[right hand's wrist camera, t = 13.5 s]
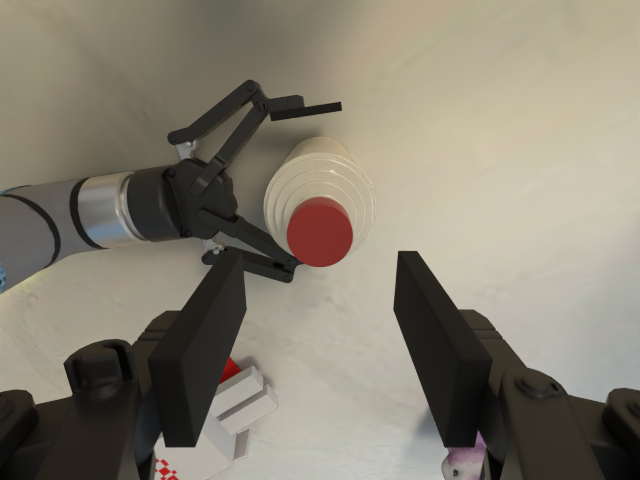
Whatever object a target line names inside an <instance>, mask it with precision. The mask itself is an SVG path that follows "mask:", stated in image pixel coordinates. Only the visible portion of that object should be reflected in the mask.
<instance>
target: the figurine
mask: <svg viewBox="0 0 640 480" xmlns="http://www.w3.org/2000/svg"><path fill="white" fill-rule="evenodd" d="M447 449H448V451H449V454H448V456H447V457H446V458H445V459H444V461H443V463H442V466H441V468H442V473H443V475H444V478H445V480H479V478H480V472H481V468H482V463H483V459H484V454H485V450H486V444H485V442H484V440H483V438H482V436H481V434H480V432H479V430H478V434H477V439H476V443H475V448H447ZM485 480H486V477H485Z"/></svg>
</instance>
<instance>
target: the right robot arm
mask: <svg viewBox="0 0 640 480" xmlns="http://www.w3.org/2000/svg"><path fill="white" fill-rule="evenodd" d="M246 310H247V308H246V296H245V284H244V272H243V260H242V251H223V252H222V253H221V255H220V256H219V257H218V259H217V260H216V262H215V263H214V264H213V266H212V267H211V269H210V270H209V272H208V273H207V274H206V276H205V277H204V279H203V280H202V282H201V283H200V284H199V286H198V287H197V289H196V290H195V292H194V293H193V294H192V296H191V297H190V299H189V300H188V302H187V303H186V304H185V306H184V307H183V309H182V310H181V311H165V312H164V313H162V314H161V315H159V316H158V317H156V318H155V319H153V320H152V322H151V323H150V324H149V325H148V326H147V328H146V329H145V332H143V333H142V334H141V335H140V336H139V338H138V341H135V343H134V344H133V345H132V346H131V345H130V344H129V343H128V342H127V341H125V340H120V339H109V340H103V341H99V342H95V343H92V344H90V345H87V346H85V347H83V348H81V349H79V350H78V351H76V352H75V353H73V354H72V355H70V356H69V357H68V359H67V360H66V361H65V362H64V363H63V364H64V368H65V371H66V374H67V377H68V380H69V384H70V387H71V390H72V393H73V394H72V396H71V397H67V398H63V399H59V400H54V401H50V402H45V403H41V404H36V405H35V403H34V400H33V397H32V395H31V394H30V393H29V392H27V391H26V390H10V391H4V392H0V480H154V478H155V469H156V455H155V450H154V446H155V444H156V442H157V440H158V438H159V436H160V434H161V432H162V434H163V439H164V443H165V448H195V447H196V444H197V442H198V439H199V436H200V434H201V431H202V428H203V425H204V423H205V420H206V417H207V415H208V412H209V409H210V407H211V404H212V401H213V399H214V396H215V393H216V391H217V388H218V385H219V383H220V380H221V377H222V374H223V372H224V369H225V366H226V364H227V361H228V358H229V356H230V353H231V350H232V348H233V345H234V342H235V340H236V337H237V334H238V332H239V329H240V326H241V323H242V321H243V318H244V315H245V313H246ZM393 310H394V313H395V315H396V318H397V321H398V323H399V326H400V329H401V332H402V334H403V337H404V340H405V342H406V345H407V348H408V350H409V353H410V356H411V358H412V361H413V364H414V366H415V369H416V372H417V374H418V377H419V380H420V383H421V385H422V388H423V391H424V393H425V396H426V399H427V401H428V404H429V407H430V409H431V412H432V415H433V417H434V420H435V423H436V425H437V428H438V431H439V434H440V436H441V439H442V442H443V444H444V447H445V448H475V443H476V439H477V434H478V430H479V432H480V434H481V436H482V438H483V440H484V442H485V444H486V450H485V454H484V459H483V463H482V468H481V472H480V478H479V480H485V477H486V480H640V391H639V390H634V389H628V388H619V389H614V390H612V391H611V392H610V393H609V394H608V397H607V400H606V403H602V402H597V401H593V400H588V399H584V398H579V397H575V396H571V395H568V394H567V392H566V391H565V389H564V388H563V387H562V385H561V384H559V383H558V382H557V381H556V380H554V379H553V378H552V377H550V376H548V375H546V374H544V373H542V372H540V371H537V370H534V369H530V368H527V367H526V366H525V364H524V363H523V362H522V361H521V359H520V358H519V357H518V356H517V355H516V353H515V352H514V351H513V350H512V348H511V347H510V346H509V345H508V343H507V342H506V341H505V340H504V339H502V336H501V335H500V334H499V332H498V331H496V330H495V327H494V326H493V325H492V324H491V323H490V321H489V320H488V319H487V318H486V317H484V316H483V315H481V314H480V313H478V312H477V311H475V310H458V309H457V307H456V306H455V304H454V303H453V301H452V300H451V299H450V297H449V296H448V294H447V293H446V292H445V290H444V289H443V287H442V286H441V284H440V283H439V282H438V280H437V279H436V277H435V276H434V274H433V273H432V272H431V270H430V269H429V267H428V266H427V264H426V263H425V262H424V260H423V259H422V257H421V256H420V255H419V253H418V252H417V251H398V260H397V272H396V284H395V296H394V308H393Z"/></svg>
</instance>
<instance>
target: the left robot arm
mask: <svg viewBox="0 0 640 480" xmlns="http://www.w3.org/2000/svg"><path fill="white" fill-rule="evenodd" d="M250 101H252V103H253V105H254V106H253V107H252V109H251V110H250V111H249V113H248V114H247V115H246V117H245V118H244V119H243V121H242V122H241V123H240V124H239V126H238V127H237V128H236V130H235V131H234V132H233V134H232V135H231V136H230V137H229V139H228V140H227V141H226V143H225V144H224V145H223V147H222V148H221V149H220V150H219V152H218V153H217V154H216V155H215V156H214V157H213V158H212V160H211V161H210V162H209V163H206V162H204V161H202V160H200V159H198V158H195V157H193V151H194V150H195V149H196V148H198V147H199V140H198V139H200V138H202V137H204V136H206V135H207V134H209V133H210V132H211V131H213V130H214V129H215V128H217V127H218V126H219V125H220V124H222V123H223V122H224V121H226V120H227V119H228V118H229V117H231V116H232V115H233V114H235V113H236V112H237V111H238V110H240V109H241V108H242V107H244V106H245V105H246V104H247V103H249V102H250ZM336 111H342V107H341V102H336V103H330V104H323V105H317V106H310V107H305V106H304V99H303V96H299V95H293V96H287V97H280V98H274V99H269V98H267V97H266V96H265V94H264V92H263V91H262V89H261V86H260V84H259V83H257V82H255V81H253V80H247V81H246V82H244V83H243V84H242V85H241V86H239V87H238V88H237V89H236V90H234V91H233V92H232V93H230V94H229V95H228V96H227V97H225V98H224V99H223V100H222V101H220V102H219V103H218V104H217V105H215V106H214V107H213V108H212V109H210V110H209V111H208V112H207V113H205V114H204V115H203V116H202V117H200V118H199V119H198V120H197V121H195V122H194V123H193V124H192V125H190V126H189V127H187V128H184V129H180V130H177V131H173V132H170V133H169V134H168V137H167V138H168V141H169V143H171V144H172V145H175V146H176V149H177V152H178V154H179V157H180V159H181V161H180V162H179V163H178V164H176V165H170V166H163V167H156V168H149V169H143V170H138V171H136V172H131V171H129V172H122V173H116V174H109V175H102V176H95V177H91V178H85V179H81V180H73V181H65V182H57V183H49V184H42V185H35V186H32V185H26V186H19V187H14V188H10V189H6V190H3V191H0V294H2V293H3V292H5V291H7V290H8V289H10V288H12V287H13V286H15V285H17V284H18V283H20V282H22V281H23V280H25V279H27V278H28V277H30V276H32V275H33V274H35V273H37V272H38V271H40V270H42V269H45V268H47V267H49V266H51V265H52V264H54V263H56V262H58V261H59V260H61V259H63V258H65V257H67V256H69V255H72V254H75V253H81V252H87V251H94V250H101V249H109V248H116V247H124V246H132V245H140V244H147V243H149V242H150V241H151V242H161V241H169V240H176V239H184V238H190V237H196V238H200V239H203V246H204V253H205V254H204V255H203V256H202V262H203V263H204V264H206V265H213V264H214V263H215V262H216V260H217V259H218V257H219V256H220V255H221V253H222V252H223V251H242V260H243V270H244V271H247V272H251V273H254V274H257V275H261V276H264V277H268V278H271V279H274V280H278V281H281V282H285V283H290V282H291V281H292V280H293V275H294V270H295V268H296V266H297V265H300V264H305V263H303V262H301V261H300V260H298V259H297V258H296V257H295V256H293V255H291V254H289V253H288V252H286V251H285V250H284V249H282V248H281V247H280V246H279V245H278V244H277V243H276V241H275V240H274V239H273V237H272V236H271V235H269V234H267V233H266V232H264V231H262V230H260V229H259V228H257V227H255V226H253V225H252V224H250V223H248V222H247V221H246V220H245V219H244V218H243V217H241V216H239V215H238V214H236V210H237V207H238V205H237V200H236V198H235V196H234V194H233V183H232V178H229V176H228V175H227V174H226V173H225V172H224V171H225V170H226V168H227V167H228V166H229V165H230V163H231V162H232V160H233V159H234V157H235V156H236V155H237V154H238V152H239V151H240V150H241V148H242V147H243V146H244V145H245V143H246V142H247V141H248V140H249V138H250V137H251V136H252V135H253V133H254V132H255V131H256V129H257V128H258V127H259V126H260V124H261V123H262V122H263V121H264V119H265V118H266V117H267V115H268V114H270V117H271V121H277V120H283V119H290V118H296V117H303V116H310V115H316V114H323V113H329V112H336ZM219 231H221V232H223V233H225V234H227V235H228V236H230V237H233V238H238V239H240V240H241V241H243V242H245V243H247V244H248V245H250V246H252V247H254V248H256V249H257V250H259V251H261V252H263V253H264V254H266V255H268V256H270V257H271V258H269V257H265V256H262V255H259V254H255V253H252V252H249V251H245V250H242V249H239V248H235V247H231V246H225V244H224V243H223V242H219V241H217V240H216V239H215V238H214V236H215V235H216V234H217V233H218V232H219ZM272 258H273V259H272Z"/></svg>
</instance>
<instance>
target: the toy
mask: <svg viewBox="0 0 640 480" xmlns="http://www.w3.org/2000/svg"><path fill="white" fill-rule="evenodd" d="M263 382H264V378H263V377H262V376H261V375H260V373H259V372H258V371H257V370H256V368H255V367H254V366H253V365H251V366H250V367H248V368H246V369H245V370H243V371H241V370H240V369H239V368H238V367H237V366H236V364H235V363H234V362H233V361H232V360H231V359H230V357H229V358H228V361H227V364H226V366H225V369H224V372H223V374H222V377H221V380H220V383H219V385H218V388H217V391H216V393H215V396H214V399H213V401H212V404H211V407H210V409H209V412H208V415H207V417H206V420H205V423H204V425H203V428H202V431H201V434H200V436H199V439H198V442H197V444H196V447H195V448H165V443H164V439H163V434H162V432H161V434H160V436H159V438H158V440H157V442H156V444H155V446H154V450H155V455H156V469H155V478H154V480H208V479H210V478H212V477H213V476H215V475H217V474H218V473H220V472H222V471H224V470H225V469H227V468H229V467H230V466H232V465H233V464H235V463H237V462H239V461H241V460H243V459H245V458H247V457H248V449H249V442H250V435H251V431H250V430H249V429H248V430H246V431H244V432H242V433H240V434H237V432H238V431H240V430H241V429H243V428H245V427H246V426H248V425H250V424H251V423H253V422H255V421H257V420H258V419H260V418H262V417H263V416H265V415H267V414H268V413H270V412H272V411H273V410H275V409H277V408H278V396H277V395H276V393H275V392H274V391H273V390H272V388H271V387H270V386H269V385H268V383H267V384H266V385H264V386H263Z"/></svg>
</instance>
